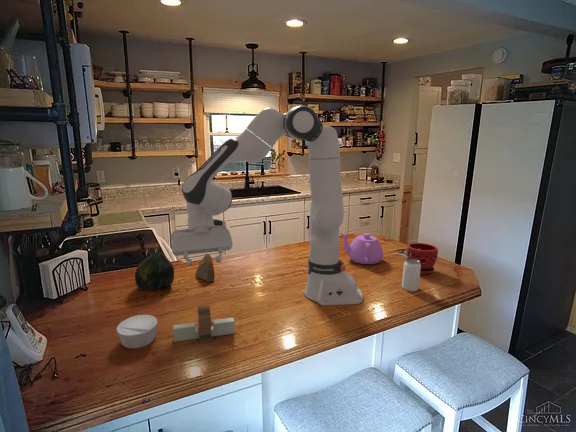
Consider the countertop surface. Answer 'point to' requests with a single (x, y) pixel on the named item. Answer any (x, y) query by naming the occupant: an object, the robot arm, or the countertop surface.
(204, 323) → the walnut block
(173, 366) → the countertop surface
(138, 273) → the squash
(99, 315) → the countertop surface
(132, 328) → the ramekin
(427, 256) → the plant pot
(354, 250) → the teapot
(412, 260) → the can
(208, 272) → the rock
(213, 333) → the slotted rail
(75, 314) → the countertop surface
